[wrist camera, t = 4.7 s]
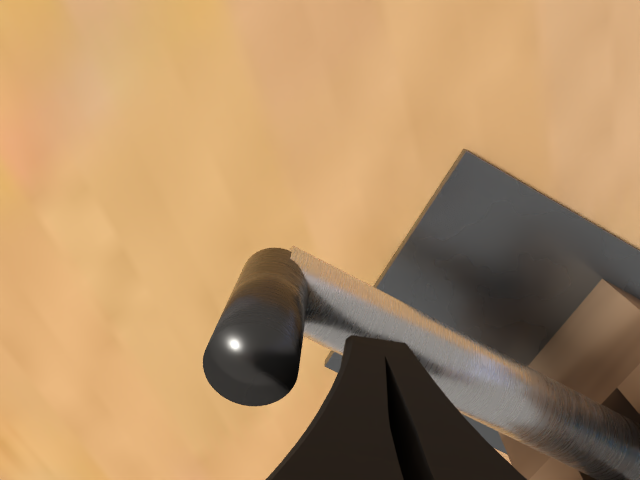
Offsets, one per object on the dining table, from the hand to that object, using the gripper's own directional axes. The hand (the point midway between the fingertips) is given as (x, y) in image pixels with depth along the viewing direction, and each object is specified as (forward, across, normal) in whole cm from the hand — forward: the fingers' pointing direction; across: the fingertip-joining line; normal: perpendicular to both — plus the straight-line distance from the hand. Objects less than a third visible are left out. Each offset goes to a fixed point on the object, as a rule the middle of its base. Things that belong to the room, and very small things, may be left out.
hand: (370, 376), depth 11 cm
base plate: (+8, -8, +3) cm, 12 cm away
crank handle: (+3, -3, +1) cm, 4 cm away
